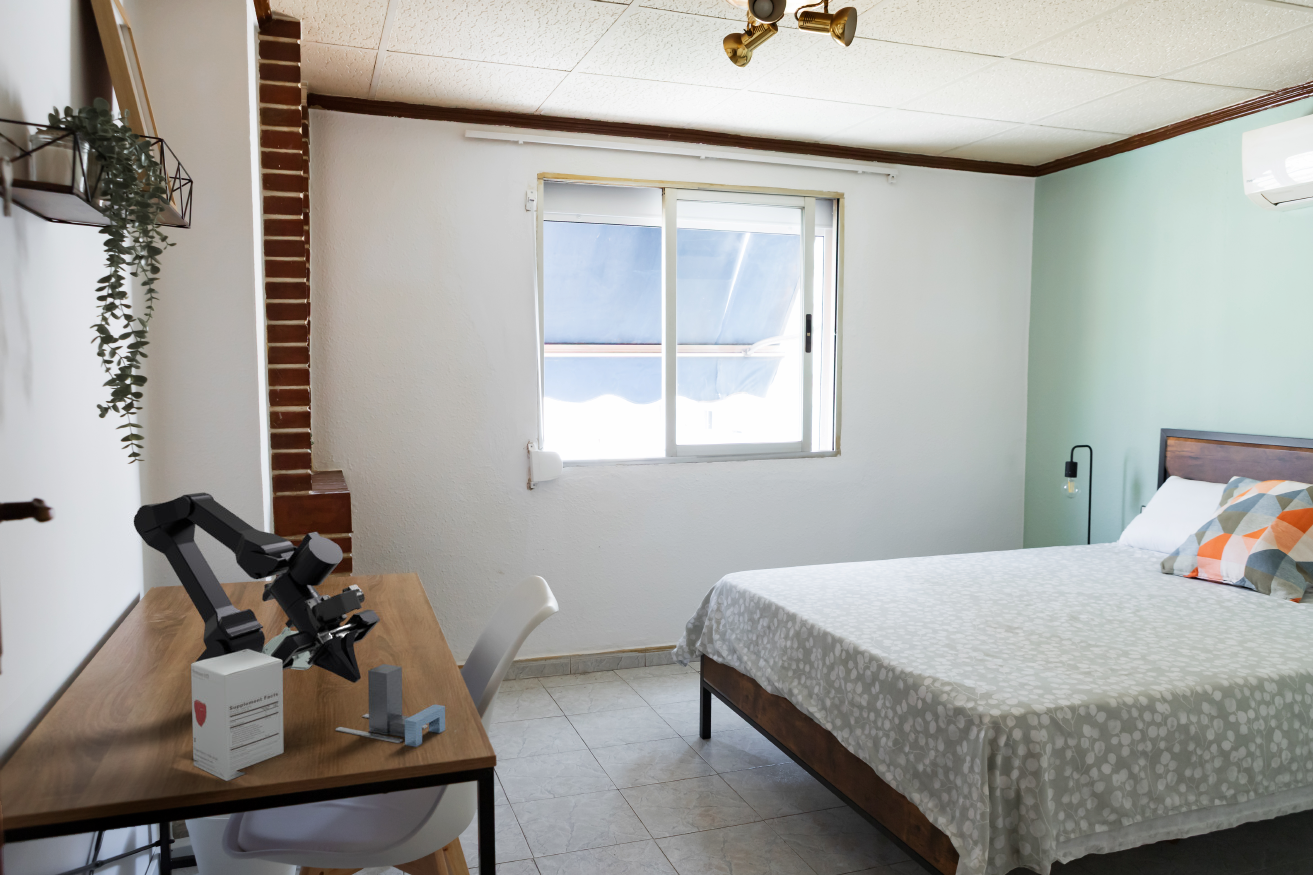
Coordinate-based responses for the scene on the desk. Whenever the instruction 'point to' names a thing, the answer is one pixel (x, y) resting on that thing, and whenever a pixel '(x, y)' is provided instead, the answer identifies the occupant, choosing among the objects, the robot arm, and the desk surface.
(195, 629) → the desk surface
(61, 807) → the desk surface
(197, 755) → the supplement box
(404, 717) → the tall gray pillar
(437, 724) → the blue gray railed fixture
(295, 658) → the metal bracket
